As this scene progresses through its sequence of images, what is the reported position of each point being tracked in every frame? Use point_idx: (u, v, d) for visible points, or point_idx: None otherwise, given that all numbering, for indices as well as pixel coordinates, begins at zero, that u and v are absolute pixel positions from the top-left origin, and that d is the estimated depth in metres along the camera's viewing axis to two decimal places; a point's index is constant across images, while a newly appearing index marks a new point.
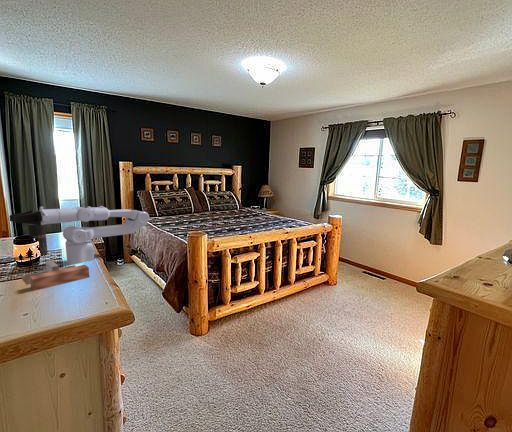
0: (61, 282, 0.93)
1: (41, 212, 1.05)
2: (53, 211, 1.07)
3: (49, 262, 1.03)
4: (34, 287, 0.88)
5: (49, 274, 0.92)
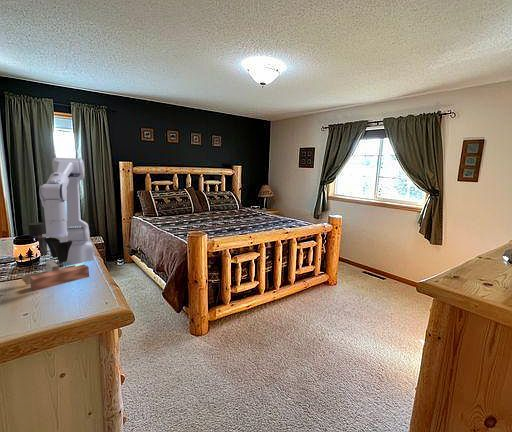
0: (61, 282, 0.93)
1: None
2: (50, 226, 0.89)
3: (49, 262, 1.03)
4: (35, 287, 0.88)
5: (49, 274, 0.92)
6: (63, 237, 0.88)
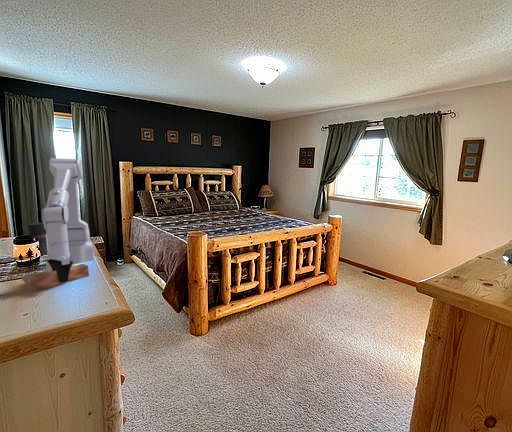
0: None
1: None
2: (52, 248, 0.91)
3: None
4: (36, 287, 0.88)
5: (50, 274, 0.91)
6: (65, 259, 0.89)
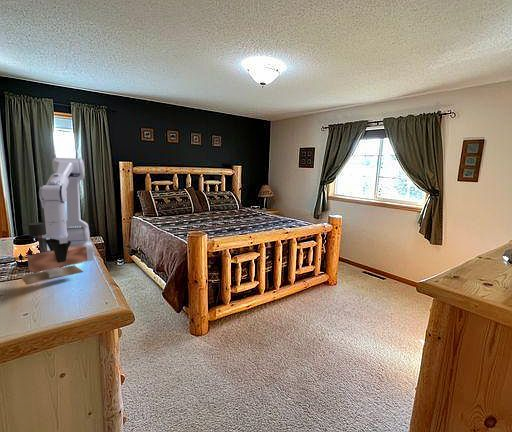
0: None
1: None
2: (50, 227, 0.90)
3: None
4: (33, 266, 0.87)
5: (47, 253, 0.91)
6: (63, 238, 0.88)
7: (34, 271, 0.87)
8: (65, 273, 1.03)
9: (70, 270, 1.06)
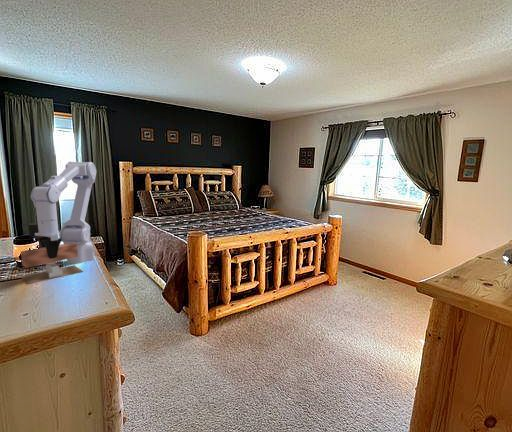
0: None
1: (43, 235, 0.98)
2: (42, 225, 0.97)
3: None
4: (26, 261, 0.94)
5: (40, 249, 0.98)
6: (54, 236, 0.95)
7: (27, 266, 0.94)
8: (65, 273, 1.03)
9: (70, 270, 1.06)
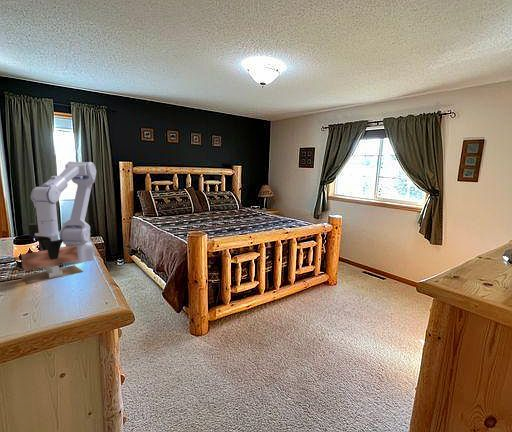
0: (51, 260, 1.00)
1: (43, 235, 0.98)
2: (42, 225, 0.97)
3: None
4: (26, 264, 0.94)
5: (40, 252, 0.98)
6: (54, 236, 0.95)
7: (27, 269, 0.94)
8: (65, 273, 1.03)
9: (70, 270, 1.06)
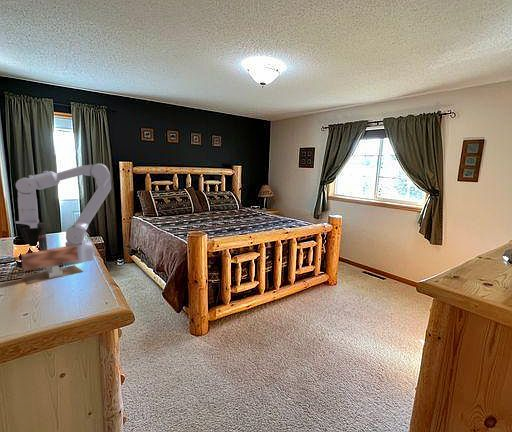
0: (51, 260, 1.00)
1: (23, 223, 1.04)
2: (22, 214, 1.03)
3: None
4: (26, 264, 0.94)
5: (40, 252, 0.98)
6: (33, 224, 1.02)
7: (27, 269, 0.94)
8: (65, 273, 1.03)
9: (70, 270, 1.06)
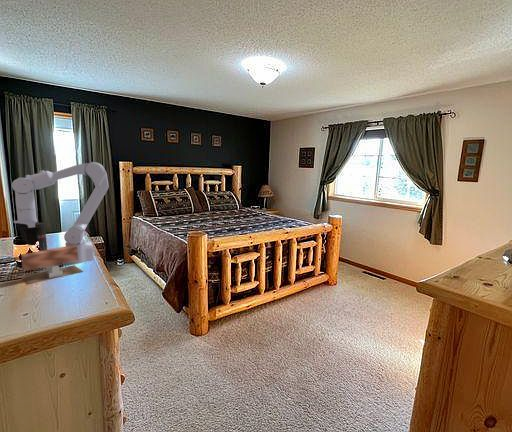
0: (51, 260, 1.00)
1: None
2: (20, 213, 1.05)
3: None
4: (26, 264, 0.94)
5: (40, 252, 0.98)
6: (31, 223, 1.03)
7: (27, 269, 0.94)
8: (65, 273, 1.03)
9: (70, 270, 1.06)
